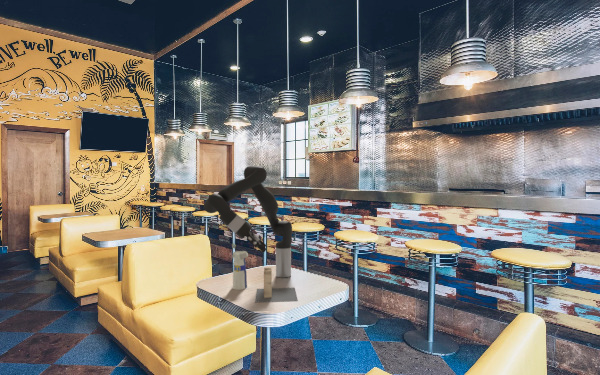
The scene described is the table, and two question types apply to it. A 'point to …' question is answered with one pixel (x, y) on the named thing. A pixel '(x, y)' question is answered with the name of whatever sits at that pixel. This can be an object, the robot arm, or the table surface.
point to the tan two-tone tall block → (267, 282)
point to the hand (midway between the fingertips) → (265, 248)
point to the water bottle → (239, 269)
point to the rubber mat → (277, 295)
